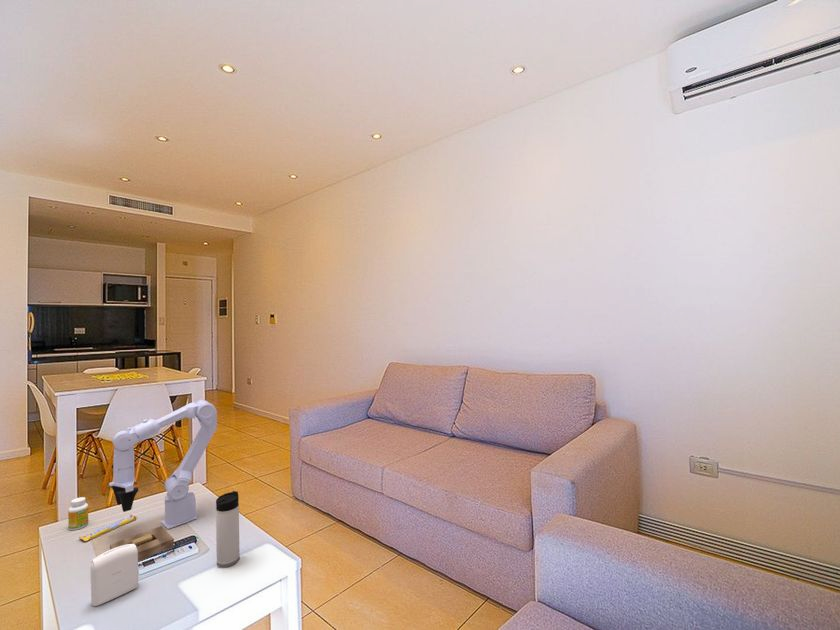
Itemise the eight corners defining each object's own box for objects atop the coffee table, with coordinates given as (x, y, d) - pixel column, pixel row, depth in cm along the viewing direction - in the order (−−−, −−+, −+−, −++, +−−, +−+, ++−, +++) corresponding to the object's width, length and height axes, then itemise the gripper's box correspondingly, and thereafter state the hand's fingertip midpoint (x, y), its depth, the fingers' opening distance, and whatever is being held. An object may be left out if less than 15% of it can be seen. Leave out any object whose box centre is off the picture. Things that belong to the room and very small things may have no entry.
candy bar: (132, 518, 147) (132, 513, 147) (138, 520, 145) (138, 515, 145) (77, 541, 132) (77, 536, 132) (84, 544, 130) (84, 539, 130)
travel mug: (245, 556, 121) (244, 492, 121) (228, 569, 115) (227, 501, 115) (229, 553, 123) (228, 489, 123) (211, 565, 117) (210, 499, 117)
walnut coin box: (161, 537, 133) (161, 525, 133) (174, 551, 125) (173, 538, 125) (110, 557, 122) (109, 544, 122) (119, 573, 114) (119, 559, 114)
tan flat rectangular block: (150, 549, 126) (150, 533, 126) (152, 552, 124) (152, 536, 124) (131, 556, 122) (131, 540, 122) (133, 560, 121) (133, 543, 121)
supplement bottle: (76, 531, 138) (76, 503, 138) (64, 529, 139) (64, 502, 139) (92, 523, 143) (92, 496, 143) (80, 522, 144) (80, 495, 144)
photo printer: (92, 609, 100) (92, 561, 100) (89, 601, 103) (88, 554, 103) (140, 587, 108) (140, 543, 108) (136, 581, 111) (135, 537, 111)
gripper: (104, 465, 135) (104, 504, 135) (114, 476, 125) (114, 518, 125) (129, 459, 140) (129, 497, 140) (140, 469, 131) (141, 510, 131)
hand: (124, 507), depth 133 cm, fingers open, 7 cm apart
